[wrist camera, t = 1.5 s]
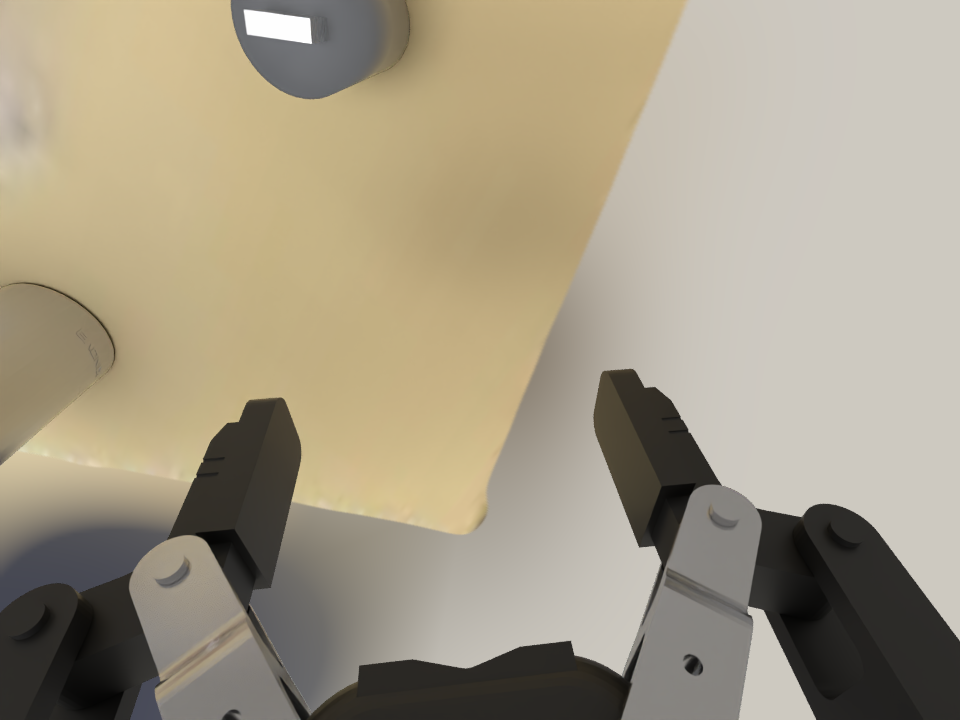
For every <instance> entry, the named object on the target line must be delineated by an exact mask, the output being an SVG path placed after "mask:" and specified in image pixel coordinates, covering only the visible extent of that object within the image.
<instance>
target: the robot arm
mask: <svg viewBox="0 0 960 720" xmlns="http://www.w3.org/2000/svg"><path fill="white" fill-rule="evenodd" d="M113 361H114V349H113V346H112V342H111V340H110V338H109V336H108V334H107V333H106V331H105V330H104V328H103V327H102V326H101V324H100V323H99V322H98V321H97V320H96V319H95V318H94V317H93V316H92V315H91V314H90V313H89V312H88V311H87V310H85V309H84V308H83V307H82V306H80V305H79V304H78V303H76V302H75V301H73V300H71V299H70V298H68V297H66V296H64V295H63V294H60V293H58V292H56V291H53V290H51V289H48V288H45V287H41V286H38V285H33V284H24V283H20V284H11V285H8V286H5V287H2V288H0V465H1V464H3V463H4V462H5V461H6V460H7V459H8V458H9V457H11V456H12V455H13V454H14V453H15V452H16V451H17V450H19V449H20V448H21V447H22V446H23V445H24V444H25V443H27V442H28V441H29V440H30V439H31V438H32V437H33V436H34V435H36V434H37V433H38V432H39V431H40V430H41V429H42V428H44V427H45V426H46V425H47V424H48V423H49V422H50V421H52V420H53V419H54V418H55V417H56V416H57V415H58V414H60V413H61V412H62V411H63V410H64V409H65V408H66V407H68V406H69V405H70V404H71V403H72V402H73V401H74V400H76V399H77V398H78V397H79V396H80V395H81V394H82V393H84V392H85V391H86V390H87V389H88V388H89V387H90V386H92V385H93V384H94V383H95V382H96V381H97V380H98V379H99V378H101V377H102V376H103V375H104V374H105V373H106V372H107V371H108V370H109V369H110V368H111V366H112V364H113ZM594 428H595V433H596V436H597V439H598V442H599V444H600V447H601V449H602V452H603V455H604V457H605V460H606V462H607V465H608V468H609V470H610V473H611V475H612V478H613V481H614V483H615V486H616V488H617V491H618V494H619V496H620V499H621V501H622V504H623V506H624V509H625V512H626V515H627V517H628V519H629V522H630V525H631V527H632V530H633V533H634V535H635V538H636V540H637V543H638V546H639V547H649V546H655V548H656V549H657V552H658V555H659V557H660V560H661V564H660V567H659V570H658V573H657V576H656V579H655V582H654V585H653V589H652V591H651V594H650V597H649V600H648V603H647V606H646V609H645V612H644V615H643V618H642V621H641V624H640V627H639V630H638V633H637V636H636V639H635V641H634V644H633V646H632V649H631V651H630V654H629V657H628V660H627V662H626V665H625V668H624V671H623V674H622V676H621V675H619V674H618V673H616V672H614V671H613V670H611V669H609V668H608V667H606V666H604V665H602V664H600V663H597V662H596V661H592V660H590V659H587V658H583V657H579V656H574V652H573V648H572V644H571V641H566V642H557V643H549V644H540V645H532V646H523V647H519V648H516V649H514V650H512V651H509V652H507V653H505V654H502V655H500V656H498V657H495V658H493V659H491V660H488V661H486V662H484V663H481V664H479V665H477V666H475V667H472V668H467V669H465V668H457V667H452V666H446V665H441V664H435V663H429V662H424V661H418V660H413V659H412V660H403V661H395V662H386V663H378V664H369V665H361V666H359V676H358V682H356V683H354V684H351V685H349V686H347V687H346V688H344V689H342V690H340V691H339V692H337V693H336V694H334V695H333V696H332V697H330V698H329V699H328V700H326V701H325V702H324V703H323V704H322V705H321V706H320V707H319V708H317V709H316V710H315V711H314V712H313V713H311V711H310V709H309V707H308V705H307V704H306V702H305V700H304V698H303V697H302V695H301V694H300V692H299V690H298V689H297V687H296V685H295V684H294V682H293V681H292V679H291V677H290V675H289V674H288V672H287V670H286V668H285V667H284V665H283V663H282V661H281V659H280V657H279V656H278V654H277V652H276V650H275V648H274V646H273V645H272V643H271V641H270V639H269V637H268V635H267V634H266V632H265V630H264V628H263V626H262V625H261V623H260V621H259V619H258V617H257V615H256V614H255V612H254V610H253V608H252V607H251V605H250V604H249V602H250V599H251V595H252V591H253V590H255V589H264V588H271V584H272V580H273V576H274V571H275V567H276V563H277V559H278V555H279V551H280V546H281V542H282V538H283V534H284V529H285V525H286V521H287V517H288V513H289V509H290V504H291V500H292V496H293V492H294V488H295V483H296V479H297V475H298V471H299V467H300V462H301V444H300V439H299V436H298V434H297V431H296V428H295V426H294V423H293V420H292V418H291V415H290V412H289V410H288V407H287V405H286V402H285V400H284V399H283V398H268V399H256V400H249V401H248V402H247V403H246V405H245V408H244V410H243V413H242V415H241V418H240V420H239V422H235V423H227V424H226V425H225V426H224V427H223V428H222V429H221V430H220V432H219V433H218V434H217V435H216V436H215V437H214V438H213V439H212V440H211V442H210V444H209V447H208V449H207V451H206V453H205V456H204V458H203V463H201V465H200V467H199V469H198V472H197V474H196V475H197V477H196V478H194V481H193V483H192V485H191V488H190V490H189V492H188V495H187V497H186V499H185V501H184V503H183V506H182V508H181V510H180V513H179V515H178V517H177V520H176V522H175V524H174V526H173V529H172V531H171V533H170V535H169V537H168V539H167V541H165V542H163V543H161V544H159V545H158V546H156V547H155V548H153V549H152V550H151V551H150V552H148V553H147V554H146V555H145V556H144V557H143V559H142V560H141V561H140V562H139V563H138V565H137V566H136V568H135V569H134V571H133V572H131V573H129V574H127V575H125V576H123V577H120V578H118V579H115V580H112V581H110V582H107V583H104V584H102V585H99V586H96V587H94V588H91V589H88V590H86V591H83V592H80V593H78V592H77V591H76V590H75V589H73V588H72V587H71V586H69V585H66V584H61V583H55V584H48V585H44V586H41V587H38V588H36V589H33V590H31V591H29V592H27V593H25V594H24V595H22V596H20V597H19V598H17V599H16V600H15V601H13V602H12V603H11V604H9V605H8V606H7V607H6V608H5V609H4V610H3V611H2V612H1V613H0V720H130V717H131V715H132V712H133V709H134V706H135V703H136V700H137V697H138V694H139V691H140V688H141V685H142V683H143V682H145V681H148V680H149V679H152V678H154V677H156V676H160V683H159V684H158V685H156V687H155V696H156V700H157V704H158V707H159V710H160V713H161V716H162V719H163V720H738V719H739V712H740V706H741V701H742V694H743V688H744V682H745V676H746V670H747V664H748V658H749V651H750V645H751V639H752V632H753V619H752V616H750V615H748V612H747V609H748V606H750V607H754V608H758V609H762V610H764V612H765V614H766V616H767V618H768V620H769V622H770V624H771V626H772V628H773V630H774V633H775V635H776V637H777V639H778V641H779V643H780V645H781V647H782V649H783V651H784V653H785V655H786V657H787V659H788V662H789V664H790V666H791V668H792V670H793V672H794V674H795V676H796V678H797V680H798V682H799V684H800V686H801V689H802V691H803V693H804V695H805V697H806V699H807V701H808V703H809V705H810V707H811V709H812V711H813V714H814V716H815V717H816V720H960V641H959V639H958V638H957V637H956V635H955V634H954V633H953V632H952V630H951V629H950V627H949V626H948V625H947V623H946V622H945V621H944V620H943V618H942V617H941V616H940V614H939V613H938V612H937V610H936V609H935V608H934V606H933V605H932V604H931V602H930V601H929V600H928V598H927V597H926V596H925V594H924V593H923V592H922V590H921V589H920V588H919V586H918V585H917V584H916V582H915V581H914V580H913V578H912V577H911V576H910V575H909V573H908V572H907V570H906V569H905V568H904V566H903V565H902V564H901V562H900V561H899V560H898V558H897V557H896V556H895V555H894V553H893V552H892V550H891V549H890V548H889V546H888V545H887V544H886V542H885V541H884V540H883V538H882V537H881V536H880V534H879V533H878V532H877V531H876V529H875V528H874V527H873V526H872V525H871V524H870V523H868V522H867V521H866V520H865V519H864V518H862V517H861V516H859V515H858V514H856V513H854V512H852V511H850V510H848V509H846V508H843V507H840V506H837V505H831V504H818V505H814V506H812V507H810V508H809V509H808V510H807V511H806V512H805V514H804V515H803V516H802V517H797V516H792V515H787V514H781V513H776V512H771V511H766V510H761V509H757V508H755V506H754V505H753V504H752V503H751V502H750V501H749V500H748V499H747V498H746V497H745V496H743V495H742V494H740V493H739V492H737V491H735V490H733V489H731V488H728V487H725V486H722V485H721V484H720V482H719V481H718V479H717V478H716V476H715V474H714V472H713V471H712V469H711V467H710V466H709V464H708V462H707V461H706V459H705V457H704V455H703V454H702V452H701V450H700V449H699V447H698V445H697V444H696V442H695V440H694V438H693V437H692V435H691V433H689V432H688V428H687V426H686V425H685V423H684V421H683V420H681V418H680V415H679V413H678V411H677V410H676V408H675V406H674V404H673V403H672V401H671V400H670V399H669V398H668V397H666V396H665V395H664V394H663V393H662V392H660V391H659V390H658V389H657V388H656V387H650V388H644V386H643V384H642V382H641V380H640V379H639V377H638V375H637V373H636V372H635V371H634V370H633V369H624V370H611V371H604V372H602V374H601V378H600V383H599V388H598V393H597V399H596V404H595V409H594Z"/></svg>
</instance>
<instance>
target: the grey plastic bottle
mask: <svg viewBox="0 0 960 720" xmlns="http://www.w3.org/2000/svg"><path fill="white" fill-rule="evenodd" d="M231 11H232V18H233V23H234V28H235V31H236V34H237V37H238V39H239V42H240V44H241V47H242V49H243V50H244V52H245V54H246V56H247V57H248V59H249V60H250V62H251V63H252V65H253V66H254V67H255V69H256V70H257V71H258V72H259V73H260V74H261V75H262V76H263V77H264V78H265V79H266V80H267V81H268V82H269V83H271V84H272V85H273V86H275V87H276V88H278V89H279V90H281V91H283V92H285V93H287V94H289V95H292V96H295V97H299V98H303V99H320V98H324V97H327V96H330V95H332V94H334V93H336V92H339V91H341V90H343V89H345V88H348V87H350V86H352V85H354V84H356V83H359V82H361V81H363V80H365V79H368V78H370V77H372V76H374V75H376V74H379V73H381V72H383V71H385V70H388V69H389V68H391V67H392V66H393V65H395V64H396V63H397V62H398V60H399V59H400V58H401V56H402V55H403V53H404V51H405V49H406V46H407V43H408V39H409V33H410V19H409V13H408V8H407V5H406V2H405V0H231Z"/></svg>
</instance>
